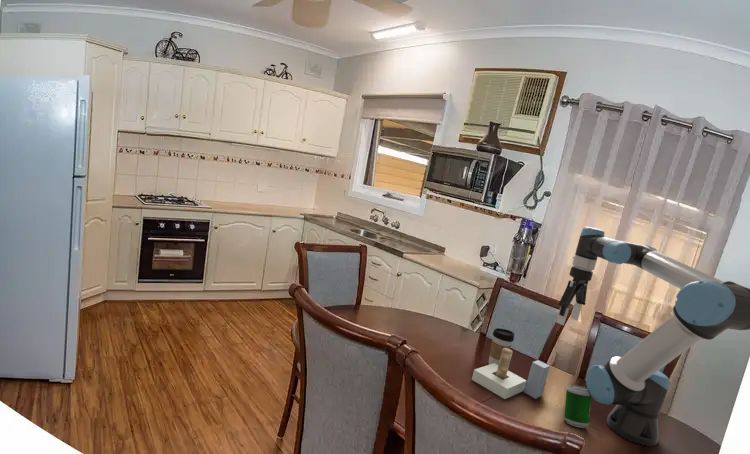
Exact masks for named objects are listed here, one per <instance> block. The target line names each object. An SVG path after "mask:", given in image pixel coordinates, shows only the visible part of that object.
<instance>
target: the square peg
mask: <svg viewBox="0 0 750 454" xmlns="http://www.w3.org/2000/svg"><path fill="white" fill-rule="evenodd" d="M550 367H551V365H549V364H547V363H545V362H544V361H541V360H540V359H537V360H534V361H532V363H531V366H530V369H529V373H528V377H527V382H526V385H525V389H524V391H523V392H524V394H527V395H528V396H530V397H532V398H533V399H535V400H537V399H538V398H540V397H542V395H543V392H544V387H545V384H546V381H547V379H548V378H547V377H548V374H549V372H550V371H549V370H550Z"/></svg>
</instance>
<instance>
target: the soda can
mask: <svg viewBox="0 0 750 454" xmlns="http://www.w3.org/2000/svg"><path fill="white" fill-rule="evenodd" d="M591 405H592V396H591V395H590V393H589V391H588V388H587V387H585V386H580V385H574V384H569V386H567V387H566V391H565V407H564V415H563V416H564V417H563V419H564V420H565V422H566V423H567V424H568V425H570V426H572V427H575V428H579V429H580V428H581V429H586V428H587V427H588V426H589V425H590V421H591V419H590V418H591Z"/></svg>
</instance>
